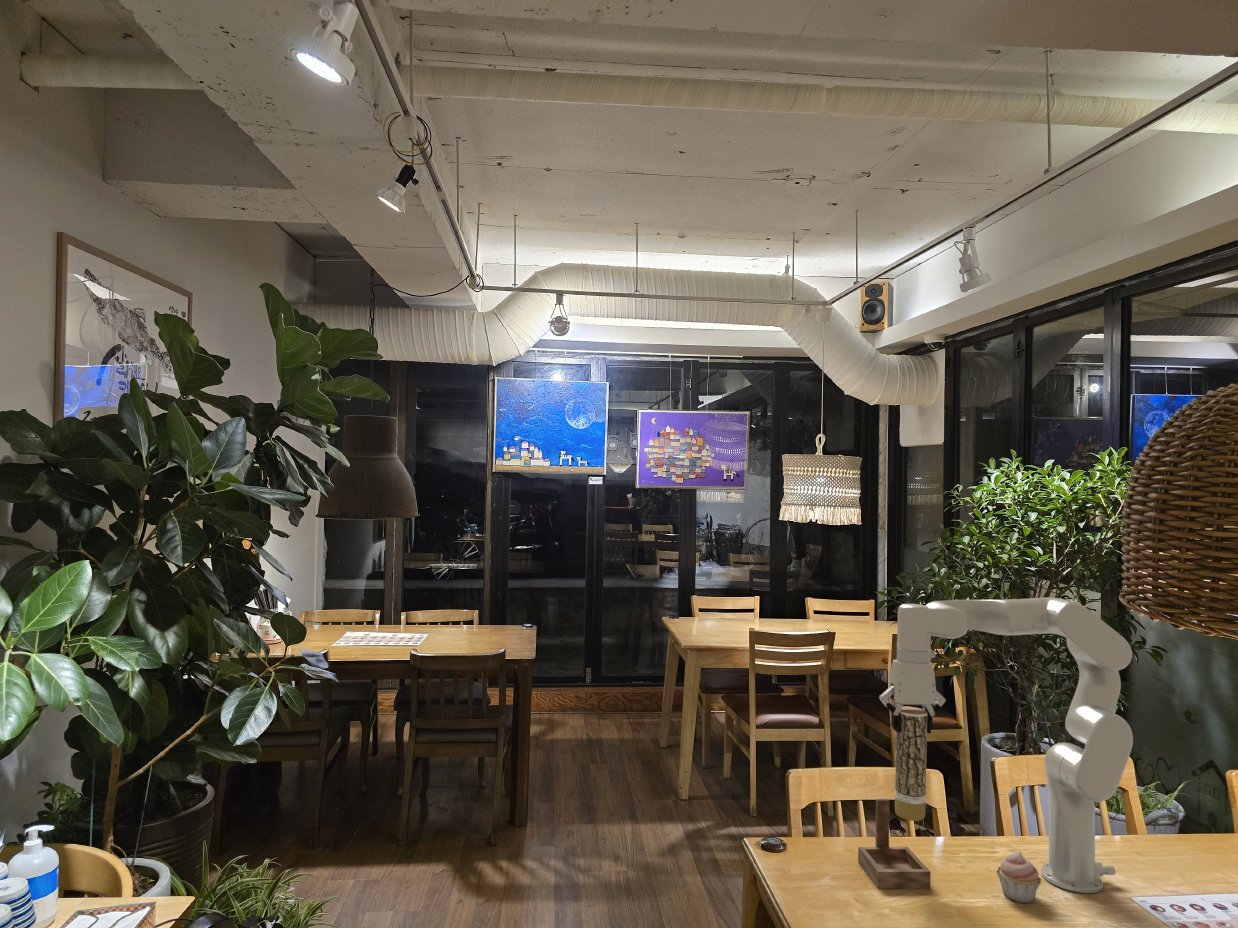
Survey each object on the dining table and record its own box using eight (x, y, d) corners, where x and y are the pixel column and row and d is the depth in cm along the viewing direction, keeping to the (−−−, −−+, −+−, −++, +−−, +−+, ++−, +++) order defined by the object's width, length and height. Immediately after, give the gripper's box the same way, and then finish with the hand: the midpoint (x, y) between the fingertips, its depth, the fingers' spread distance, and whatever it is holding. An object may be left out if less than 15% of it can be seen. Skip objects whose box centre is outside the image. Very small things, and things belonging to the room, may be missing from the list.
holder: (905, 859, 190) (906, 798, 190) (930, 887, 176) (930, 821, 177) (856, 859, 189) (857, 798, 190) (877, 887, 176) (878, 821, 176)
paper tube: (927, 823, 178) (930, 715, 179) (897, 820, 179) (899, 712, 180) (922, 811, 185) (924, 707, 186) (892, 808, 186) (894, 705, 187)
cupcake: (1052, 905, 169) (1052, 860, 170) (1014, 908, 168) (1014, 862, 168) (1023, 884, 179) (1023, 841, 179) (987, 886, 177) (987, 843, 178)
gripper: (941, 653, 188) (939, 727, 187) (872, 651, 187) (870, 725, 186) (956, 660, 180) (954, 736, 179) (884, 658, 179) (882, 735, 179)
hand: (911, 730), depth 183 cm, fingers closed on paper tube, 6 cm apart
